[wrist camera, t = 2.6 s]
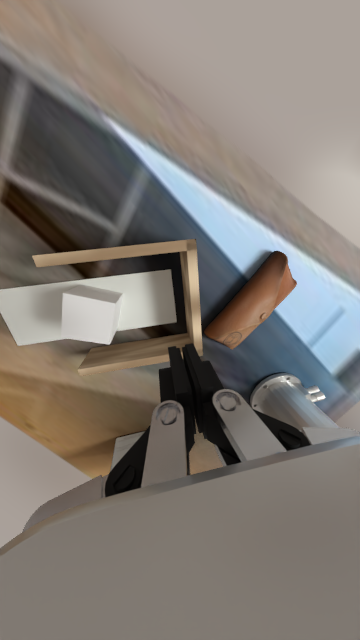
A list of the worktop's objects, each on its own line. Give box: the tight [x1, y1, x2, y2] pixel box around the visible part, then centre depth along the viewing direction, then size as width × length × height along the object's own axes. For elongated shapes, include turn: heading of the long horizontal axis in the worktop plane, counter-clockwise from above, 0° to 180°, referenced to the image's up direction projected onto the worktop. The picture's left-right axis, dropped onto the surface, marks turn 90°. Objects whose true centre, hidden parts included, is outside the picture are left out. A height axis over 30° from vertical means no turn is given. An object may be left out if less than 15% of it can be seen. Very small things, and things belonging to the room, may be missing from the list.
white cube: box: [61, 284, 123, 345], centre depth 25 cm, size 6×6×6 cm
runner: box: [0, 269, 177, 346], centre depth 27 cm, size 26×9×1 cm, turn 95°
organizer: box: [32, 239, 203, 376], centre depth 25 cm, size 16×18×6 cm
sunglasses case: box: [204, 251, 297, 349], centre depth 30 cm, size 18×7×7 cm
